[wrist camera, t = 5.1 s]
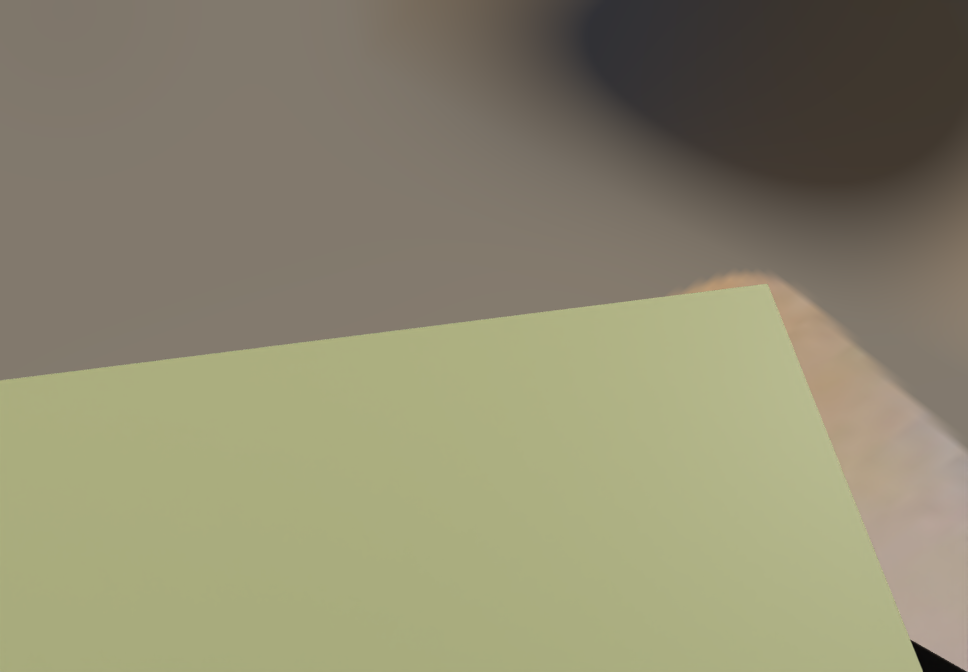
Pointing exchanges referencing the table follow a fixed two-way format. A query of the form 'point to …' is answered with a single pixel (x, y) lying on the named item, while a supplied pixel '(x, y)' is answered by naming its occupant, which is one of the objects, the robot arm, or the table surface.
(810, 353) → the table surface
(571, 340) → the pale green upright block
